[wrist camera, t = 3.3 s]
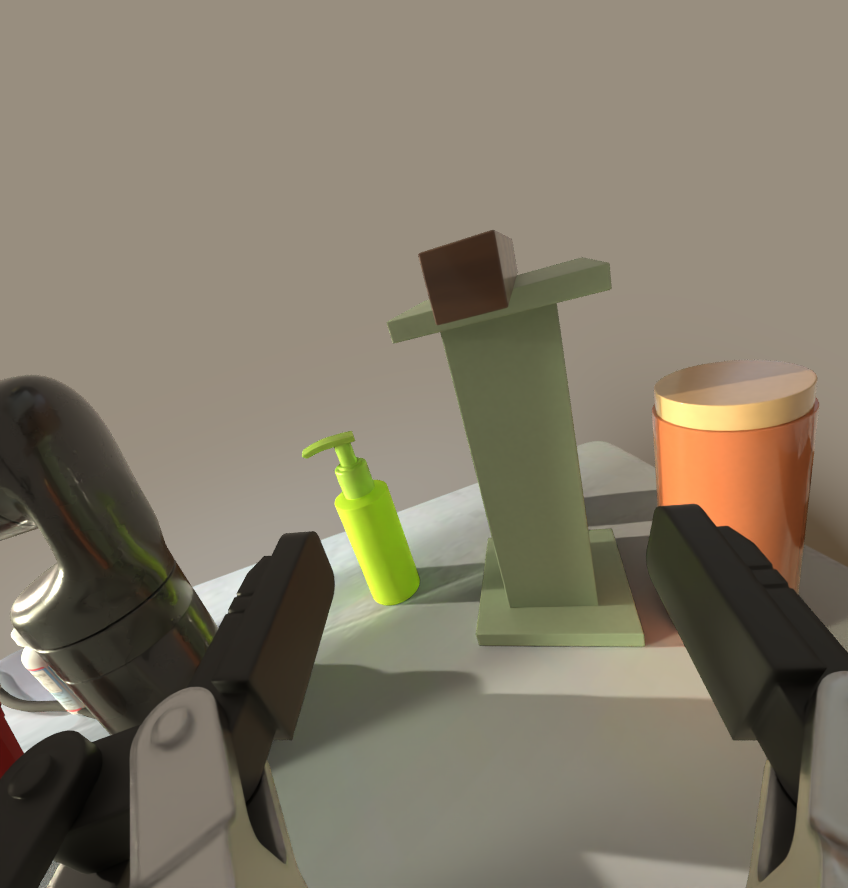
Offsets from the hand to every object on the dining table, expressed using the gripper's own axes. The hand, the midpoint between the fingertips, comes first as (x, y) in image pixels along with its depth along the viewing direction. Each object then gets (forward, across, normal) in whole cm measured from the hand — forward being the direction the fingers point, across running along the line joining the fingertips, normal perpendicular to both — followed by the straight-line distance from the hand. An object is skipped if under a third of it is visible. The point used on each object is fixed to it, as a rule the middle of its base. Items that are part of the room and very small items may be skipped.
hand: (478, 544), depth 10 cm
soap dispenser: (+24, +12, +32) cm, 41 cm away
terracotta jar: (+16, -20, +26) cm, 37 cm away
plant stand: (+21, -6, +29) cm, 36 cm away
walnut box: (+22, -2, -1) cm, 22 cm away
